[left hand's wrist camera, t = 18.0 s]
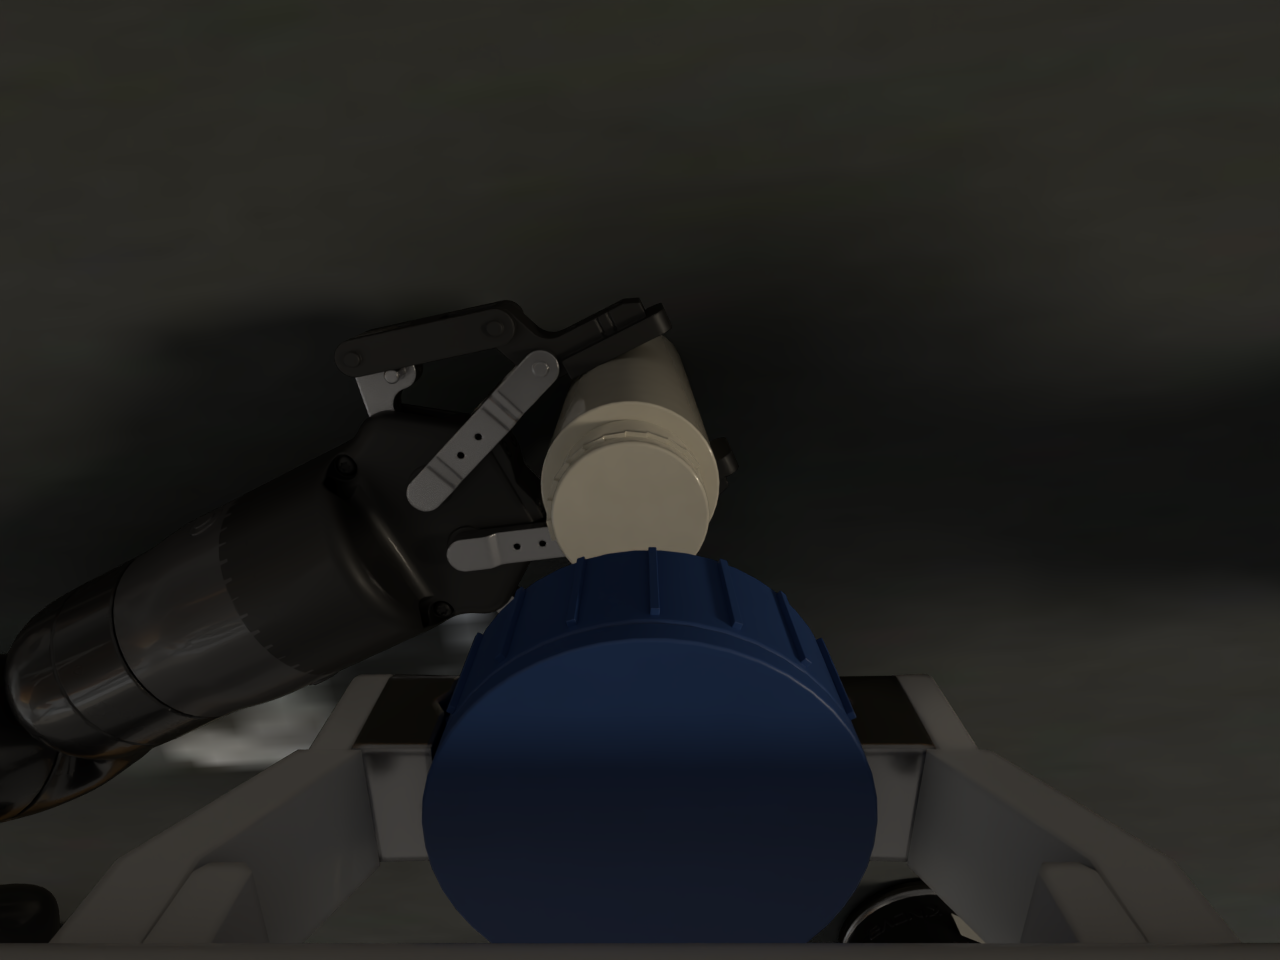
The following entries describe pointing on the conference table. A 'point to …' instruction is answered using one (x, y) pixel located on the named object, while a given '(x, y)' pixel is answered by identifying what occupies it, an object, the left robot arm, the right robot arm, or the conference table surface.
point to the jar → (630, 459)
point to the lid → (649, 763)
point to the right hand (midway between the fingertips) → (698, 387)
